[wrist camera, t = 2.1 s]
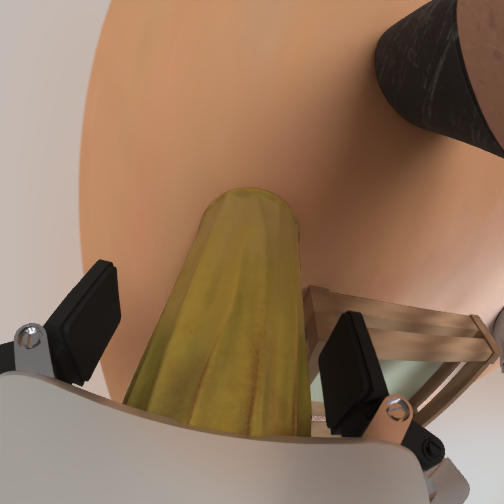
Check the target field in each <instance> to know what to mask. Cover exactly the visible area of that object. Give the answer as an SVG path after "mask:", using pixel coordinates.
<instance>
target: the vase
mask: <svg viewBox="0 0 504 504" xmlns="http://www.w3.org/2000/svg"><path fill="white" fill-rule="evenodd" d="M298 243H299V226H298V222H297V220H296V217H295V215H294V213H293V212H292V210H291V209H290V207H289V206H288V205H287V204H286V203H285V202H284V201H283V200H282V199H280V198H279V197H277V196H276V195H274V194H272V193H270V192H267V191H265V190H261V189H256V188H240V189H235V190H231V191H228V192H226V193H224V194H222V195H221V196H219V197H218V198H217V199H216V200H214V201H213V202H212V203H211V204H210V205H209V206H208V208H207V209H206V211H205V213H204V215H203V217H202V220H201V223H200V227H199V232H198V235H197V237H196V239H195V241H194V243H193V245H192V247H191V249H190V251H189V254H188V256H187V258H186V260H185V263H184V265H183V267H182V270H181V272H180V274H179V276H178V279H177V281H176V283H175V286H174V288H173V290H172V293H171V295H170V297H169V299H168V302H167V304H166V306H165V308H164V311H163V313H162V315H161V317H160V319H159V321H158V323H157V325H156V327H155V330H154V332H153V334H152V336H151V338H150V341H149V343H148V345H147V347H146V350H145V352H144V354H143V356H142V359H141V361H140V363H139V366H138V368H137V370H136V372H135V375H134V377H133V379H132V381H131V384H130V386H129V388H128V390H127V393H126V395H125V398H124V400H123V403H122V404H124V405H127V406H131V407H134V408H137V409H140V410H144V411H147V412H151V413H154V414H158V415H162V416H166V417H169V418H173V419H175V420H176V421H178V422H180V423H181V424H184V425H188V426H191V427H198V428H206V429H213V430H219V431H225V432H232V433H236V434H240V435H244V436H251V437H262V436H266V435H283V436H301V437H311V420H312V405H311V392H310V381H309V370H308V360H307V350H306V341H305V329H304V308H303V299H302V288H301V267H300V256H299V245H298Z"/></svg>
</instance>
